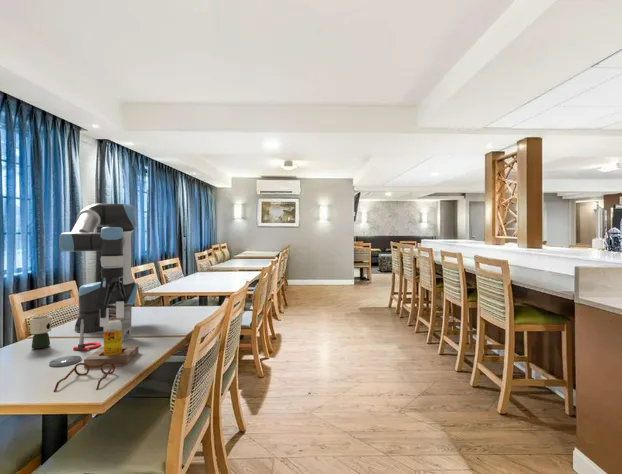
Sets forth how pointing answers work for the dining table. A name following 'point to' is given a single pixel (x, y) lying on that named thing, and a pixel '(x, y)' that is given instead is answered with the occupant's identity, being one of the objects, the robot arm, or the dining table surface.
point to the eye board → (112, 357)
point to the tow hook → (81, 341)
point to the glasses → (88, 371)
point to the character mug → (40, 331)
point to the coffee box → (122, 319)
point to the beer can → (113, 338)
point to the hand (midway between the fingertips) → (112, 321)
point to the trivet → (64, 361)
